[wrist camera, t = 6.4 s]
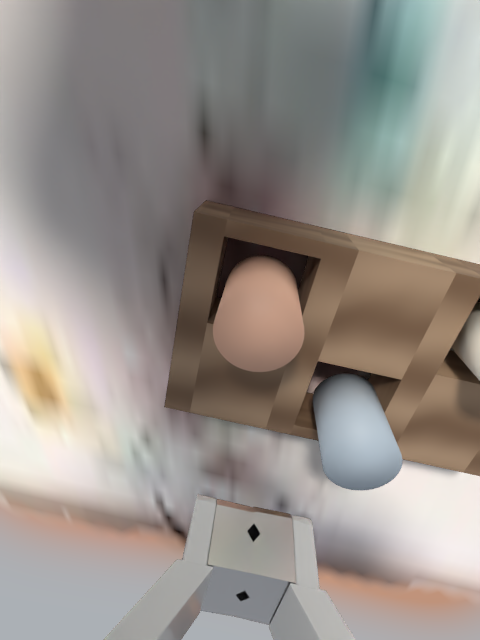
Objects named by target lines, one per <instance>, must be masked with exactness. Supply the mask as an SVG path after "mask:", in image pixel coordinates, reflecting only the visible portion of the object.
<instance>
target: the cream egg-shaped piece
mask: <svg viewBox="0 0 480 640" xmlns="http://www.w3.org/2000/svg"><path fill="white" fill-rule="evenodd" d="M451 348H452V349H453V351H454V352H455V353H456V354H457V355H458V356H459V358H460V359H461V360H462V361H463V362H464V363H465V364H466V366H467V367H468V368H469V369H470V370H471V371H472V373H473V374H474V375H475V376H476V377H477V378H478V380H479V381H480V302H479V303H476V304H475V306H474V308H473V309H472V311H471V313H470V315H469V316H468V318H467V320H466V322H465V324H464V325H463V327H462V329H461V331H460V332H459V334H458V336H457V338H456V340H455V341H454V343H453V345H452V347H451Z"/></svg>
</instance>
